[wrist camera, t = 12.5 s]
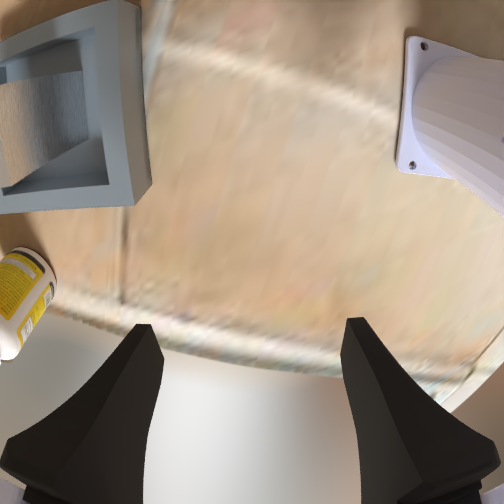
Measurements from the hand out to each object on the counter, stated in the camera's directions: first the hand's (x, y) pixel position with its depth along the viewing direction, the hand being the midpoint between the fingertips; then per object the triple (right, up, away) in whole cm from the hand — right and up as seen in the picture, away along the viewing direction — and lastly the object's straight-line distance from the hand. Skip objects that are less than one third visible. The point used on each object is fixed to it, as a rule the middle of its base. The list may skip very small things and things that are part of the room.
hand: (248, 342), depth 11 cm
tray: (-11, +12, +3) cm, 16 cm away
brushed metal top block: (-11, +11, +3) cm, 16 cm away
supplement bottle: (-18, +2, +10) cm, 21 cm away
